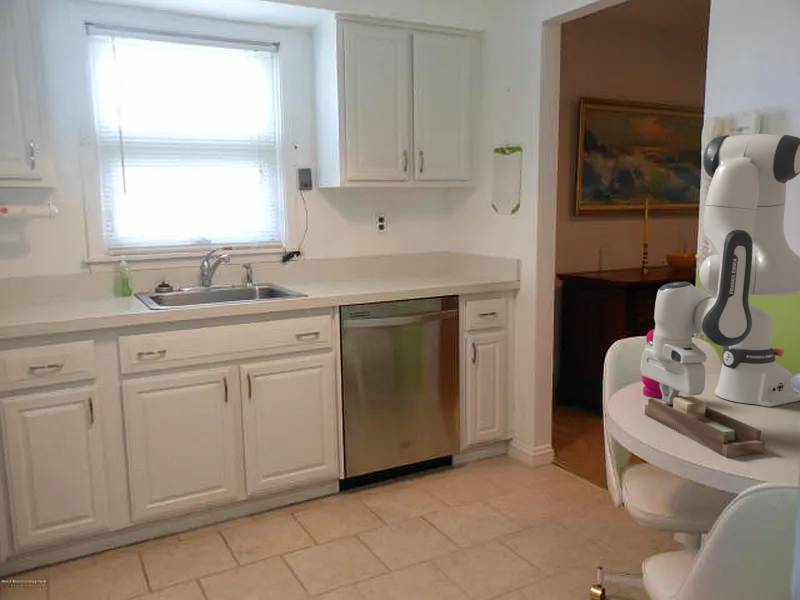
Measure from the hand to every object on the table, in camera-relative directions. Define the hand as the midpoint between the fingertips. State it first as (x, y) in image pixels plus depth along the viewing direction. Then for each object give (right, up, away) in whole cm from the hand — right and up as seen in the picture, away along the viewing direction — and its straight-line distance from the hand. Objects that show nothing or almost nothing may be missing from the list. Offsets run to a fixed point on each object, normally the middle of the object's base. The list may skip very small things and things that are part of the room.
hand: (668, 402), depth 162 cm
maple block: (+2, -2, -7) cm, 7 cm away
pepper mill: (+4, -1, +18) cm, 19 cm away
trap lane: (+3, -5, -10) cm, 12 cm away
